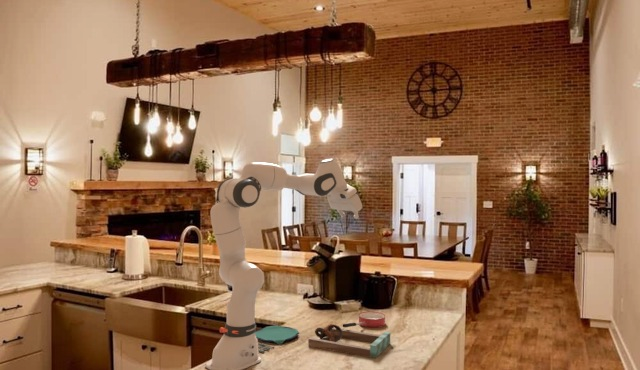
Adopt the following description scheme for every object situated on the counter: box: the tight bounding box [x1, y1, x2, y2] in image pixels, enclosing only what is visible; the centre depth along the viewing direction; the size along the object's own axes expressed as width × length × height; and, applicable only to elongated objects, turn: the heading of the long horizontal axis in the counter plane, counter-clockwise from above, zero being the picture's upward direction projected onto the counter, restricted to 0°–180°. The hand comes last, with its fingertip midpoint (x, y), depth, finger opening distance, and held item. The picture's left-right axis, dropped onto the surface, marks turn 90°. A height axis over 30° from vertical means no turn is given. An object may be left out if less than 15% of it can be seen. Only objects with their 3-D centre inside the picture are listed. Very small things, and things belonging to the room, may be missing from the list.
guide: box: [307, 327, 391, 359], centre depth 215 cm, size 19×30×5 cm, turn 64°
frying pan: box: [342, 311, 386, 329], centre depth 236 cm, size 32×13×6 cm, turn 150°
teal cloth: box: [255, 325, 300, 354], centre depth 221 cm, size 20×30×2 cm, turn 149°
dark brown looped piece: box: [314, 323, 343, 342], centre depth 219 cm, size 12×10×8 cm
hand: (350, 217), depth 230 cm, fingers open, 8 cm apart
